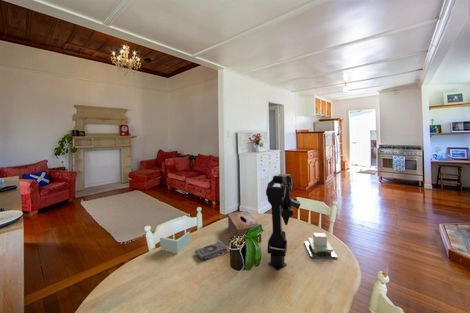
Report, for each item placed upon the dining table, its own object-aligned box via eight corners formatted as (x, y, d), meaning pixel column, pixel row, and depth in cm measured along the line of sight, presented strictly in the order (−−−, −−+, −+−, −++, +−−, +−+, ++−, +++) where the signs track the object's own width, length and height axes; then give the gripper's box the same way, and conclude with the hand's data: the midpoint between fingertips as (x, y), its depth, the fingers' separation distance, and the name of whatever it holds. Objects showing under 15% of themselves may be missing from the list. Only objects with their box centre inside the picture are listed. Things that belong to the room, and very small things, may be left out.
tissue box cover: (261, 241, 128) (261, 225, 127) (238, 245, 124) (237, 229, 123) (248, 224, 153) (247, 211, 152) (228, 227, 149) (227, 213, 148)
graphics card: (218, 238, 128) (229, 245, 118) (219, 244, 128) (229, 252, 118) (192, 247, 119) (201, 256, 108) (192, 253, 119) (201, 263, 109)
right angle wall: (190, 243, 128) (190, 231, 127) (177, 254, 117) (176, 241, 116) (174, 240, 133) (173, 228, 132) (160, 250, 122) (159, 237, 121)
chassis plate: (337, 258, 108) (337, 253, 108) (311, 258, 109) (311, 252, 109) (327, 243, 123) (327, 238, 123) (304, 243, 124) (304, 238, 124)
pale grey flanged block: (333, 251, 109) (333, 240, 108) (312, 250, 110) (313, 239, 110) (326, 240, 121) (326, 229, 120) (308, 239, 122) (308, 229, 122)
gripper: (302, 200, 113) (302, 228, 115) (296, 191, 132) (296, 215, 133) (281, 200, 114) (281, 228, 116) (277, 191, 133) (278, 215, 134)
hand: (285, 221), depth 125 cm, fingers open, 9 cm apart
